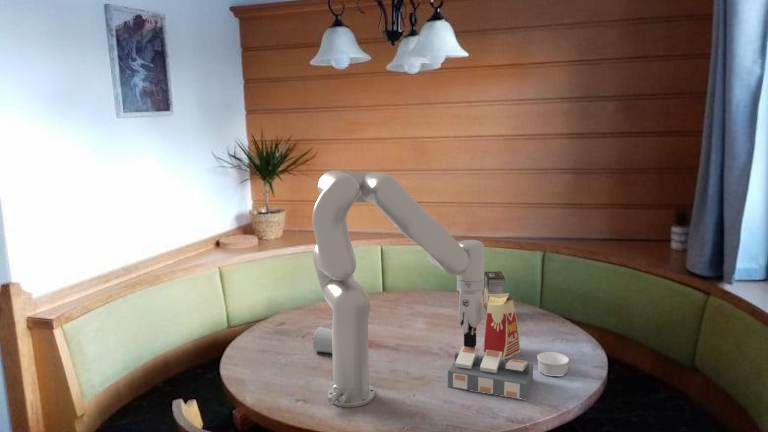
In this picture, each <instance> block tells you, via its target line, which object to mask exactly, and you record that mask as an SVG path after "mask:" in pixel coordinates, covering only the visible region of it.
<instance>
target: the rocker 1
mask: <svg viewBox="0 0 768 432" xmlns="http://www.w3.org/2000/svg"><path fill="white" fill-rule="evenodd" d="M478 351H479V348H477V347H474V348H472V347H465V346H464V345H462V346H461V348H460V351H459V352H458V357H457V360H456V362H455V361H454V362H455V367H461V368H467V369H471V368H472V365H473V363H474V360H475V357H476V355H477V356H478Z"/></svg>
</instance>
